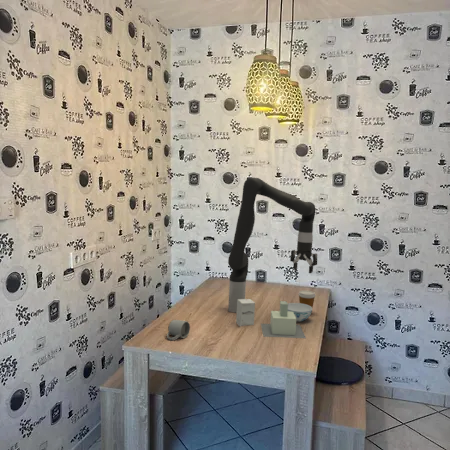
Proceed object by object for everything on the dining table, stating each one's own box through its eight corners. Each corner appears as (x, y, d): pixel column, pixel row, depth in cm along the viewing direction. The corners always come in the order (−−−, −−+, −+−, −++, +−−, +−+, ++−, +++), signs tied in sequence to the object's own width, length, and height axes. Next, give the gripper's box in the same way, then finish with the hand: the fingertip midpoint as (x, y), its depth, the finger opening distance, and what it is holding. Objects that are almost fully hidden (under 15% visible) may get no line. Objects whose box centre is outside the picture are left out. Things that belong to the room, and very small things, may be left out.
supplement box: (240, 327, 216) (241, 303, 215) (235, 322, 224) (236, 298, 222) (254, 326, 218) (255, 302, 217) (249, 322, 226) (250, 298, 224)
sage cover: (272, 334, 206) (273, 305, 205) (270, 326, 217) (271, 299, 216) (295, 335, 206) (297, 306, 205) (292, 327, 217) (293, 299, 216)
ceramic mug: (175, 331, 208) (176, 316, 207) (190, 335, 204) (190, 319, 203) (162, 339, 198) (162, 322, 197) (177, 342, 195) (177, 326, 194)
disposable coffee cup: (314, 316, 238) (315, 295, 237) (296, 315, 240) (298, 293, 239) (314, 311, 247) (315, 291, 246) (297, 309, 249) (298, 289, 248)
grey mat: (263, 338, 203) (263, 336, 203) (260, 325, 221) (260, 323, 221) (306, 340, 203) (306, 338, 203) (299, 326, 221) (299, 325, 221)
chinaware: (301, 315, 239) (302, 301, 239) (317, 324, 226) (318, 310, 225) (277, 317, 234) (278, 303, 233) (291, 327, 220) (292, 312, 219)
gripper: (289, 239, 224) (287, 270, 226) (314, 243, 215) (312, 275, 217) (296, 238, 230) (294, 268, 232) (320, 241, 221) (318, 272, 223)
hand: (302, 271), depth 225 cm, fingers open, 8 cm apart
